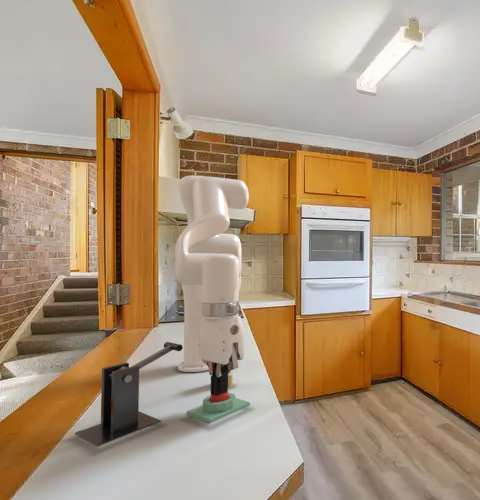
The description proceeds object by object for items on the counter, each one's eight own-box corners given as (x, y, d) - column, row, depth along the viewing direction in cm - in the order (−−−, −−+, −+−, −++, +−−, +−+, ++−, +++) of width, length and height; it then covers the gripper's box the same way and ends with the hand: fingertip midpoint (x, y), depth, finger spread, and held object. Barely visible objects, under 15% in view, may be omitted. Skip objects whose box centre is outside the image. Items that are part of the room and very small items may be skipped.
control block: (226, 402, 83) (226, 387, 83) (249, 409, 79) (250, 394, 80) (186, 419, 75) (186, 402, 75) (210, 428, 71) (210, 410, 71)
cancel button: (221, 396, 80) (221, 388, 80) (231, 399, 78) (231, 391, 78) (206, 402, 76) (206, 394, 76) (217, 405, 75) (217, 397, 75)
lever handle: (171, 348, 80) (168, 338, 80) (184, 350, 78) (181, 341, 77) (108, 383, 70) (104, 373, 69) (121, 388, 67) (117, 377, 66)
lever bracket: (137, 416, 76) (138, 357, 76) (160, 426, 72) (162, 363, 72) (74, 438, 66) (76, 371, 67) (97, 452, 62) (98, 379, 62)
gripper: (257, 310, 77) (256, 393, 77) (214, 305, 85) (212, 381, 84) (228, 315, 71) (226, 406, 70) (184, 309, 78) (182, 391, 78)
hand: (219, 392), depth 77 cm, fingers closed
